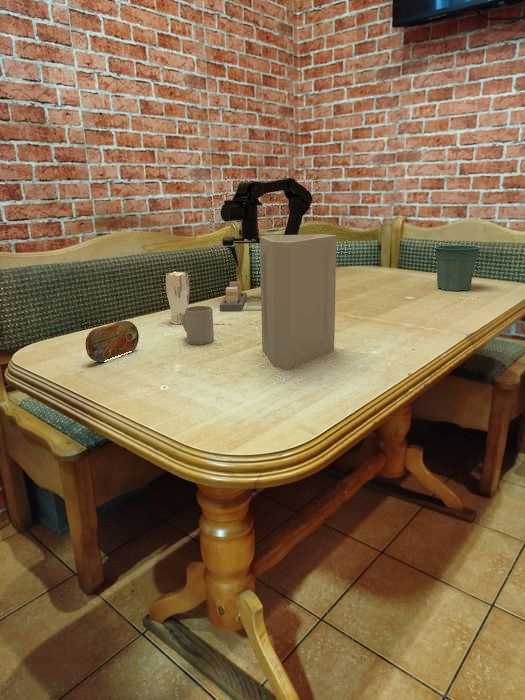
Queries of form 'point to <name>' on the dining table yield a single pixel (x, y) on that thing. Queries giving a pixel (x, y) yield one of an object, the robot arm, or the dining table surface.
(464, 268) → the flower pot
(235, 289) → the plug
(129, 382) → the dining table surface
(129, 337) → the tin
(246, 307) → the tray
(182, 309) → the beer glass
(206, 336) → the cup
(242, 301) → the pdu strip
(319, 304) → the taupe rounded pillar
